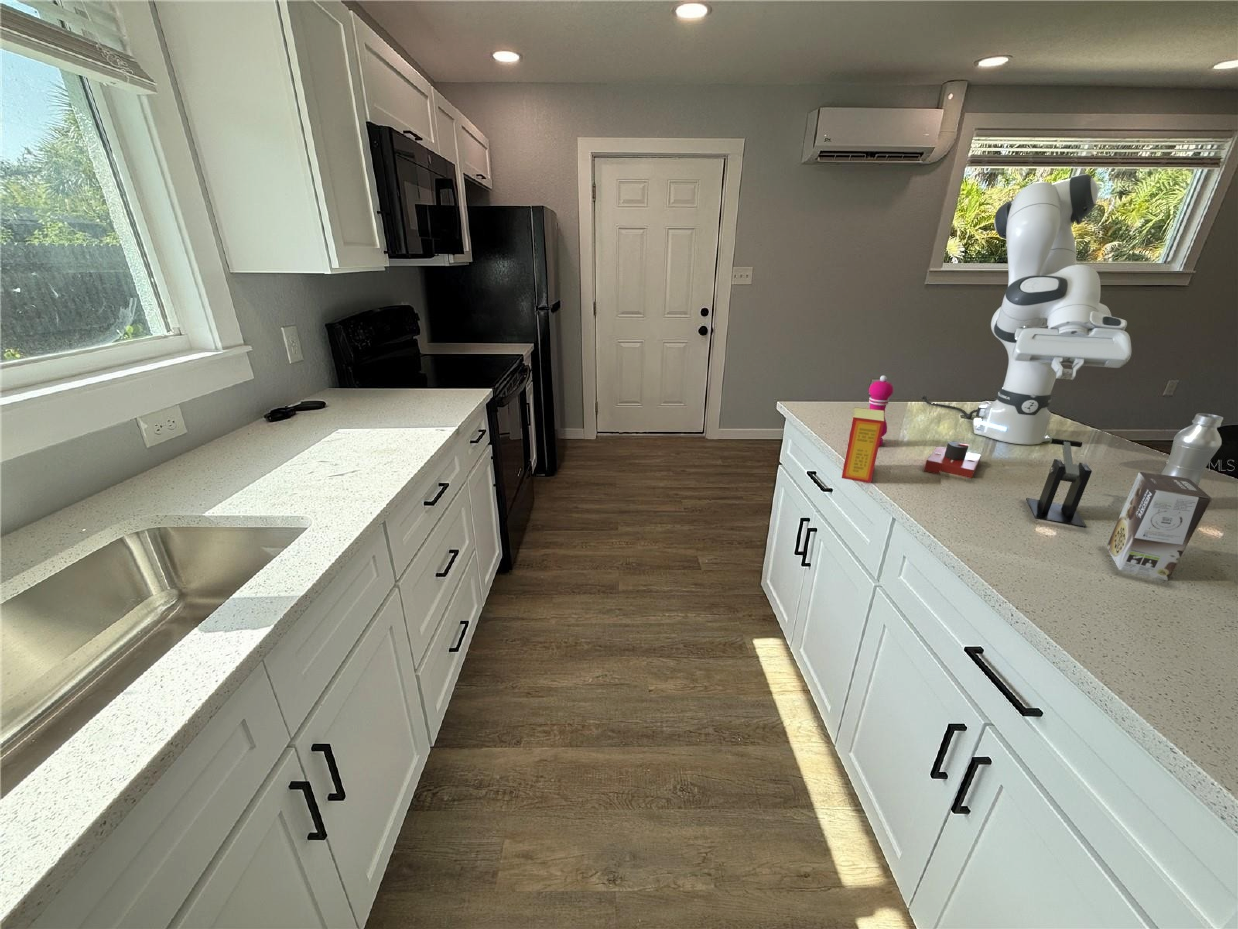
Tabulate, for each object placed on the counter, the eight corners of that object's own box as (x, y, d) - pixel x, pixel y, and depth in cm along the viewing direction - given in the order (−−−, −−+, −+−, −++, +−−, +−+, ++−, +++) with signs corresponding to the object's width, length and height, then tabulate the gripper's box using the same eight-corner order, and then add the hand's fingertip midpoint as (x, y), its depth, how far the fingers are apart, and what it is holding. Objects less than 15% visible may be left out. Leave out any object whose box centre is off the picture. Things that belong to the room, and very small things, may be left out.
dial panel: (934, 456, 134) (937, 445, 132) (978, 465, 127) (981, 454, 126) (923, 470, 125) (926, 459, 123) (970, 481, 118) (974, 469, 117)
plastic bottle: (1183, 512, 103) (1228, 422, 96) (1141, 499, 109) (1180, 413, 101) (1195, 506, 106) (1240, 418, 98) (1153, 493, 112) (1192, 409, 104)
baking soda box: (843, 464, 129) (855, 405, 122) (871, 468, 126) (884, 409, 120) (841, 478, 121) (853, 416, 114) (870, 483, 118) (884, 419, 112)
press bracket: (1024, 502, 108) (1042, 453, 104) (1070, 510, 105) (1091, 459, 100) (1033, 522, 100) (1053, 469, 96) (1084, 531, 97) (1107, 477, 92)
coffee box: (1168, 586, 81) (1214, 499, 74) (1116, 573, 84) (1155, 489, 78) (1151, 559, 88) (1191, 477, 82) (1103, 549, 91) (1138, 469, 85)
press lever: (1048, 442, 106) (1053, 434, 104) (1078, 446, 104) (1083, 438, 102) (1051, 479, 100) (1056, 471, 98) (1083, 484, 97) (1089, 476, 96)
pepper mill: (887, 448, 139) (902, 378, 131) (859, 446, 141) (873, 377, 133) (879, 439, 146) (894, 373, 138) (854, 438, 147) (866, 372, 139)
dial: (942, 457, 125) (946, 443, 123) (946, 452, 128) (950, 439, 126) (962, 461, 122) (966, 447, 120) (966, 457, 125) (970, 443, 123)
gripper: (1019, 316, 116) (1012, 365, 112) (1137, 320, 106) (1133, 374, 103) (1011, 333, 121) (1004, 380, 117) (1122, 338, 112) (1118, 390, 108)
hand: (1065, 377), depth 110 cm, fingers closed
